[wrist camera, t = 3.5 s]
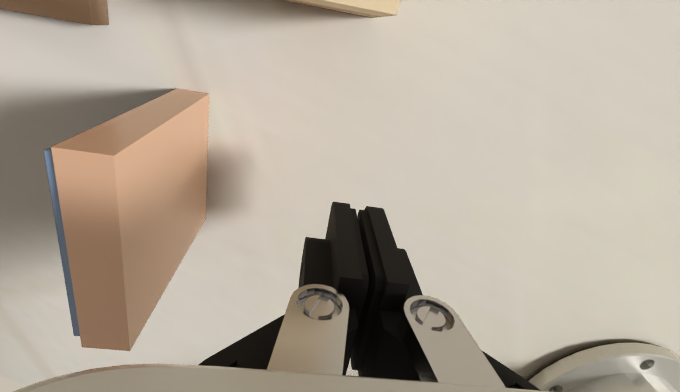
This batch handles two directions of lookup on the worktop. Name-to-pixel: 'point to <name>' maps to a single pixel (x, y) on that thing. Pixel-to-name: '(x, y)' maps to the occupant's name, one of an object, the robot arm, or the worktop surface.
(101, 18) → the board
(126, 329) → the tile
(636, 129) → the worktop surface
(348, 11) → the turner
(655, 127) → the worktop surface
